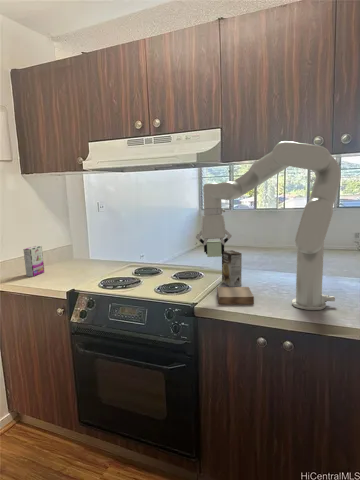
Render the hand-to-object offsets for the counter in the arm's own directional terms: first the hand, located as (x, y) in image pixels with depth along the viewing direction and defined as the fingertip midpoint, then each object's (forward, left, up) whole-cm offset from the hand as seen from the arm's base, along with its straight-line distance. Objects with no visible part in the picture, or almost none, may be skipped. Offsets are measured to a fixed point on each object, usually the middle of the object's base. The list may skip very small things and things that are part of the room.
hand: (214, 253), depth 143 cm
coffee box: (-9, -18, -19) cm, 28 cm away
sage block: (0, 0, -1) cm, 1 cm away
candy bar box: (+104, -43, -19) cm, 114 cm away
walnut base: (-8, +5, -19) cm, 21 cm away
